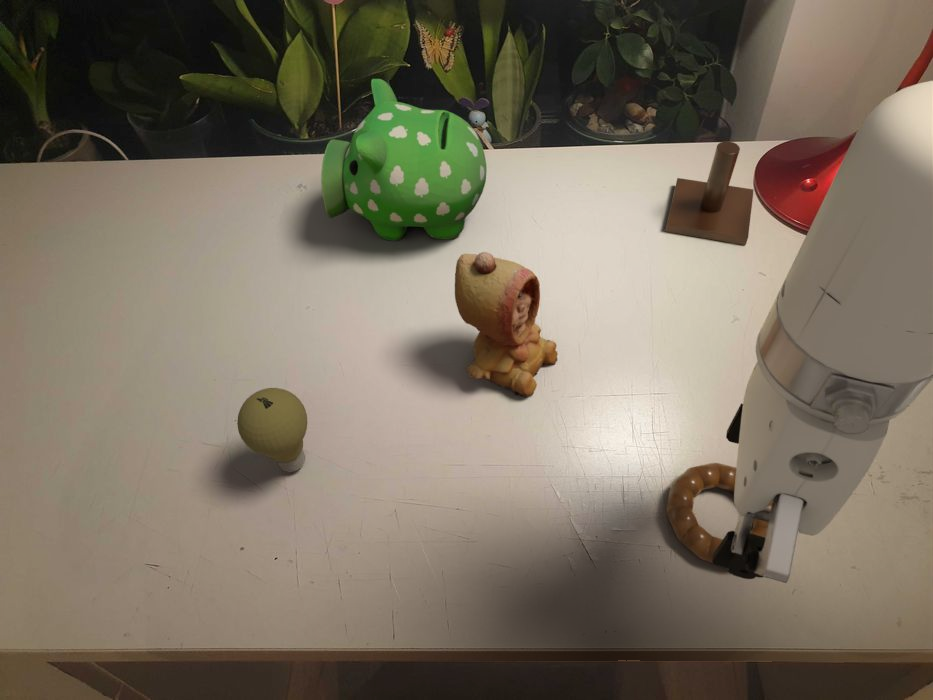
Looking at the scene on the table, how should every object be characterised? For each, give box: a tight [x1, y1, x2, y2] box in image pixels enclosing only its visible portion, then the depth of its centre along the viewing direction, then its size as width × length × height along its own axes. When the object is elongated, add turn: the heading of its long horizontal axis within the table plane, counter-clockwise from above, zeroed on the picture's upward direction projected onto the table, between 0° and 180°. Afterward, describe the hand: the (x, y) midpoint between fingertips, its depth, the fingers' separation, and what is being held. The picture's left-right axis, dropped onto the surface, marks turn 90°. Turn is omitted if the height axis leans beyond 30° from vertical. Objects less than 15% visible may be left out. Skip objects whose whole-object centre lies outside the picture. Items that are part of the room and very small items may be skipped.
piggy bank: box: [320, 78, 487, 242], centre depth 75 cm, size 14×18×15 cm
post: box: [665, 140, 754, 246], centre depth 75 cm, size 9×9×9 cm
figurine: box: [454, 251, 558, 398], centre depth 62 cm, size 10×8×15 cm
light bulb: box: [236, 387, 308, 473], centre depth 57 cm, size 6×6×10 cm
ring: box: [666, 462, 773, 564], centre depth 54 cm, size 9×9×2 cm
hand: (742, 500), depth 45 cm, fingers open, 9 cm apart
